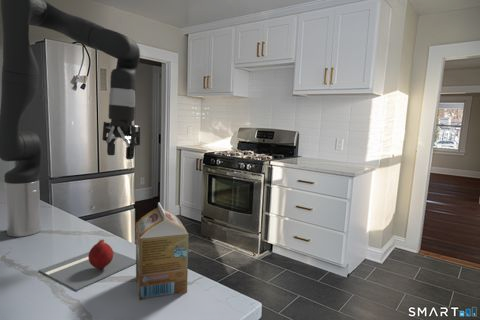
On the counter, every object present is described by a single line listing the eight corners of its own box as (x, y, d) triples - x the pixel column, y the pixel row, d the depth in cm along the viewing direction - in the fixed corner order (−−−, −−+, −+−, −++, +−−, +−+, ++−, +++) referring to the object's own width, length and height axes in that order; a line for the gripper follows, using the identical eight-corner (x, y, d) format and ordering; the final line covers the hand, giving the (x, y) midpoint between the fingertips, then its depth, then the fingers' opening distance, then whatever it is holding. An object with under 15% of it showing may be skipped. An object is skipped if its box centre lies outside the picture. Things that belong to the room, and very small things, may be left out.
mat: (38, 271, 79) (38, 269, 79) (102, 248, 94) (102, 246, 94) (76, 291, 71) (76, 289, 71) (139, 262, 86) (139, 260, 86)
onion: (104, 276, 77) (104, 245, 76) (83, 273, 78) (83, 242, 77) (117, 265, 83) (117, 236, 82) (98, 262, 84) (98, 234, 83)
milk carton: (136, 277, 78) (136, 203, 76) (178, 271, 82) (179, 200, 80) (139, 300, 69) (139, 216, 66) (187, 292, 72) (189, 212, 70)
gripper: (96, 102, 96) (94, 154, 98) (128, 104, 89) (126, 161, 91) (116, 104, 102) (115, 153, 104) (148, 106, 95) (145, 159, 98)
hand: (120, 157), depth 98 cm, fingers open, 8 cm apart
